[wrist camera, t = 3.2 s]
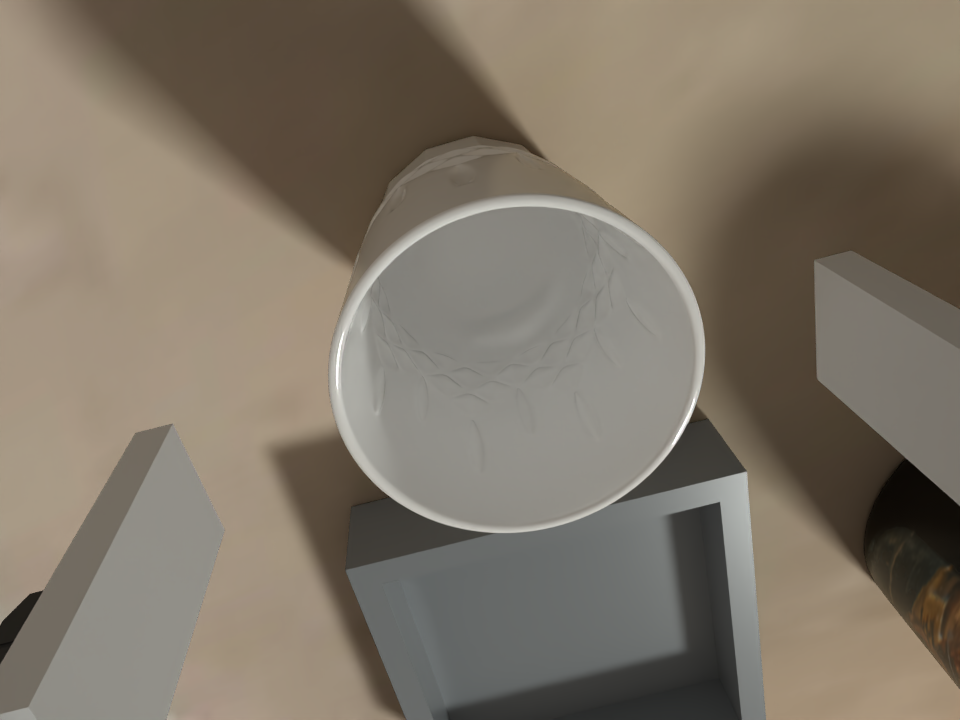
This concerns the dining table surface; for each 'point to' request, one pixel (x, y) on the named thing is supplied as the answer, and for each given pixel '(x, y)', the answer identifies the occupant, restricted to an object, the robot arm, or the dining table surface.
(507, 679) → the tray
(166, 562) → the robot arm
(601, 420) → the white cup
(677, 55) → the dining table surface
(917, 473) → the jar
